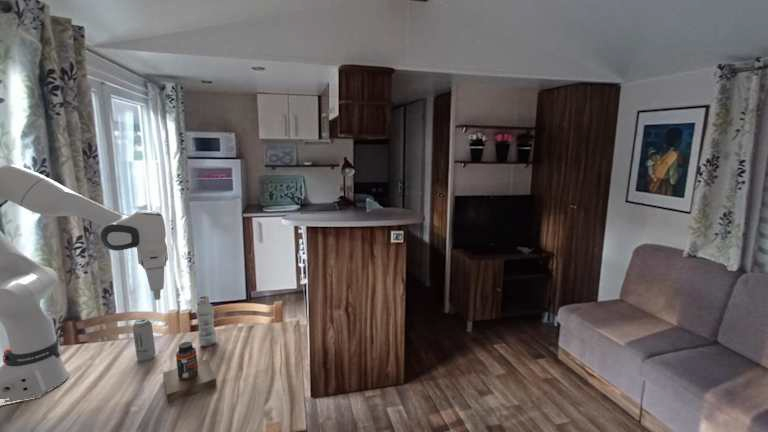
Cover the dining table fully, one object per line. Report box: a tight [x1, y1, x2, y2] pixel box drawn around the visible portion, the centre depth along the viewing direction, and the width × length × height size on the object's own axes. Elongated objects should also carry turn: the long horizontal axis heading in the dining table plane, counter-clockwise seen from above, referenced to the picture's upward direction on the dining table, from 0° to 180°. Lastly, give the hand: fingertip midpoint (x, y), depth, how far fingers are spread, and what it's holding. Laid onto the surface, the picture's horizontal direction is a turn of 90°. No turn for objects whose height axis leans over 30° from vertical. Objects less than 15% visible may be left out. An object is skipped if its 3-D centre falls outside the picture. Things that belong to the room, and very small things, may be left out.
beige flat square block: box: [162, 359, 217, 404], centre depth 125 cm, size 14×14×3 cm
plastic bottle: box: [195, 295, 218, 347], centre depth 149 cm, size 6×7×20 cm
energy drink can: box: [132, 317, 156, 363], centre depth 140 cm, size 6×6×15 cm
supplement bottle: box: [175, 341, 198, 380], centre depth 124 cm, size 6×6×11 cm
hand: (156, 294), depth 131 cm, fingers open, 8 cm apart
